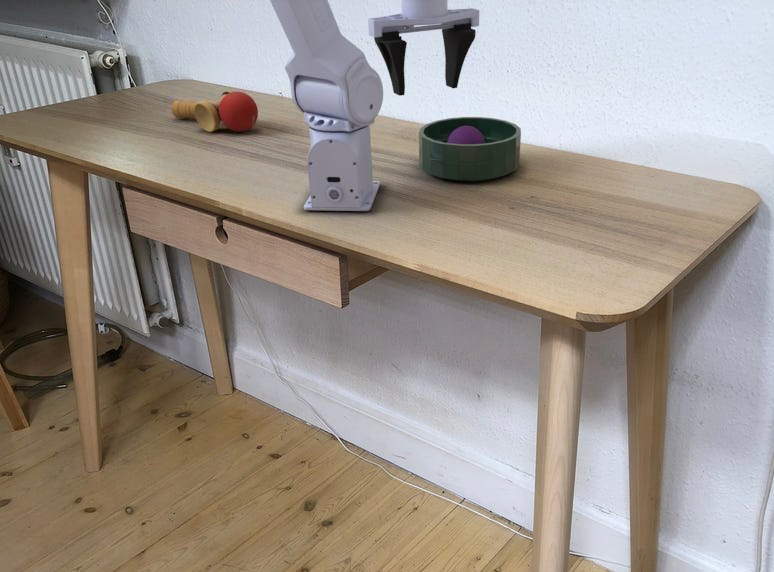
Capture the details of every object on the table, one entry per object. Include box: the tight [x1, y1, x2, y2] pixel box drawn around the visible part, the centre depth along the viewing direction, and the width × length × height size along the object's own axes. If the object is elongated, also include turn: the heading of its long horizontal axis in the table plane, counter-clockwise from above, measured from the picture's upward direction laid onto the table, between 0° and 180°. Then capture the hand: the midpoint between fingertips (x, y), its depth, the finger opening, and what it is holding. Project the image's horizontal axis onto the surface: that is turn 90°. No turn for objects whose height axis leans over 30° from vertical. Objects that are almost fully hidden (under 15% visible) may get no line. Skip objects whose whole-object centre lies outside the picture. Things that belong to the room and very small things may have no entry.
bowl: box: [418, 116, 522, 182], centre depth 100 cm, size 13×13×5 cm
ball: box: [447, 126, 485, 144], centre depth 100 cm, size 5×5×5 cm
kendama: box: [171, 89, 259, 133], centre depth 122 cm, size 8×6×18 cm
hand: (425, 90), depth 100 cm, fingers open, 7 cm apart
